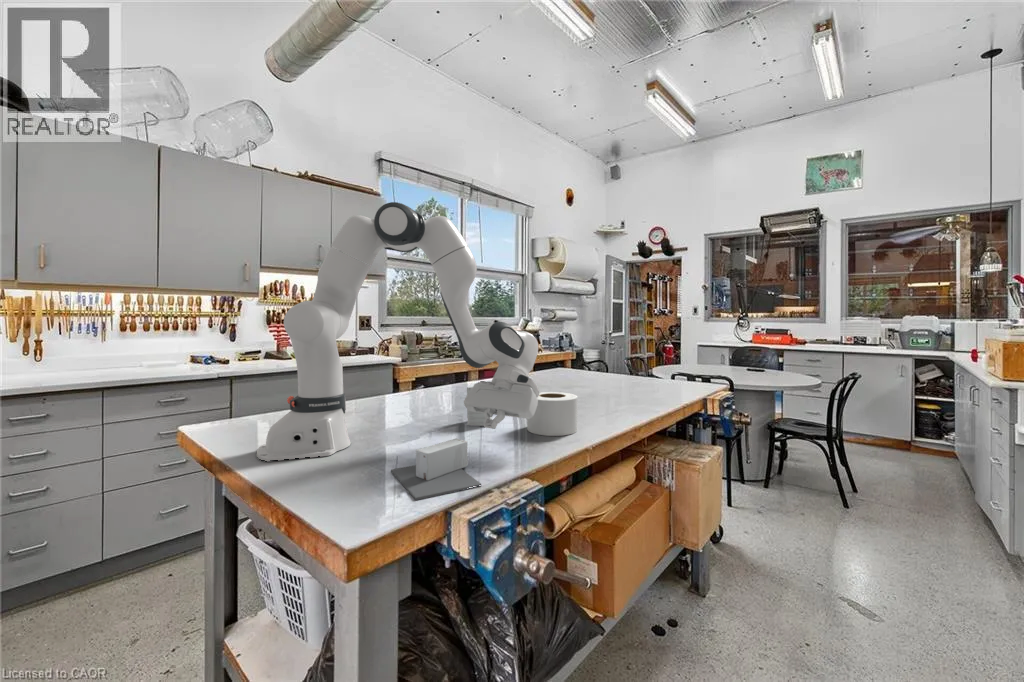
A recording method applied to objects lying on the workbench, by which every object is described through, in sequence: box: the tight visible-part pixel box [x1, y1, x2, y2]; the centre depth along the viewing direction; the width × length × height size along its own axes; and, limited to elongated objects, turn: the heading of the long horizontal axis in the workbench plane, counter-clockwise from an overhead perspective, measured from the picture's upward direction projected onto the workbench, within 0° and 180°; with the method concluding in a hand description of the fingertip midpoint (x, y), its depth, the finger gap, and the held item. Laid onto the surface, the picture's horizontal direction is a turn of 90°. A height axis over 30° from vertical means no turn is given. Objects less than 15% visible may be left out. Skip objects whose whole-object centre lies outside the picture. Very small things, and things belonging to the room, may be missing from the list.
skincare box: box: [415, 438, 468, 481], centre depth 99 cm, size 6×4×12 cm
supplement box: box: [466, 383, 493, 427], centre depth 145 cm, size 7×7×13 cm
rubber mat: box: [390, 464, 482, 501], centre depth 97 cm, size 14×18×1 cm
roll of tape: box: [526, 391, 578, 437], centre depth 137 cm, size 16×15×11 cm
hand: (488, 427), depth 112 cm, fingers closed
